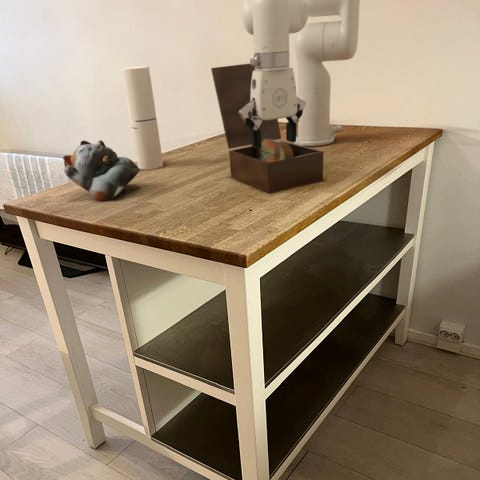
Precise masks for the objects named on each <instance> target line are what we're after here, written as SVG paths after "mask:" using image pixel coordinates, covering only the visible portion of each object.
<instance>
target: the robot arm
mask: <svg viewBox="0 0 480 480" xmlns="http://www.w3.org/2000/svg"><path fill="white" fill-rule="evenodd" d="M360 1H361V0H243V6H242V23H243V27H244V29H245V31H246V33H248V34H249V35H251V36H253V53H254V54H253V57H251V58H250V59H249V64H251V65H254V68H255V71H253V73H252V80H251V96H250V102H249V103H248V104H246V105H245V106H244V107H243V108H241V109H240V110H239V114H240V116H241V118H242V120H243V123H244V124H245V125H246V126H247V127H248V129H250V136H251V144H252V145H251V146H252V147H254V148H258V149H259V148H261V131H260V130H258V128H259V126H260V125H261V123H262V121H263V120H274V119H278V120H279V119H285V120H287V122H286V124H285V139H286V142H290V143H293V144H297V145H300V146H304V147H319V146H320V147H321V146H325V145H330V144H332V143H334V142H335V136H334V135H333V134H334V133H340V132H342V130H343V126H342V125H341V124H338V125H334V126H333V124H330V118H331V86H332V85H331V84H332V83H331V82H332V81H331V80H332V79H331V75H330V72H329V71H328V70H327V68H326V66H325V65H324V64H323V62H336V61H337V62H339V61H348V60H352V58H353V57H355V55H356V53H357V49H358V42H359V25H360V23H359V22H360V3H361V2H360ZM333 16H339V17H340V20H335V21H317V22H309V23H307V22H308V19H309V18H316V17H317V18H318V17H333ZM290 34H291V35H292V34H294V36H293V37H294V38H293V43H294V44H293V46H294V52H295V59H296V70H297V72H296V73H297V83H296V77H295V73H294V68H293V67H290ZM296 84H297V85H296ZM249 111H251V115H252V119H250V118H249V116H248V112H249Z"/></svg>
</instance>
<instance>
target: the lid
mask: <svg viewBox="0 0 480 480" xmlns="http://www.w3.org/2000/svg"><path fill="white" fill-rule="evenodd" d="M210 71H211V74H212V79H213V84H214V89H215V93H216V99H217V103H218V107H219V112H220V117H221V121H222V126H223V130H224V134H225V135H224V136H225V140H226V145H227V150H230V149H231V150H232V149H235V148H236V149H237V148H242V147H247V146H252V144H251V136H250V129H248V127H247V126H246V125H245V124H244V123H243V120H242V118H241V116H240V114H239V110H240V109H241V108H243V107H244V106H245V105H246V104H248V103H249V102H250V96H251V80H252V73H253V71H255V68H254V65H251V64H250V63H243V64H235V65H226V66H218V67H217V66H216V67H211V68H210ZM248 116H249V118H250V119H252V115H251V111H249V112H248ZM258 130H260V131H261V140H262V139H275V140H282V134H281V129H280V124H279V119H274V120H263V121H262V123H261V125H260V126H259V128H258Z"/></svg>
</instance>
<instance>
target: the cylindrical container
mask: <svg viewBox="0 0 480 480" xmlns="http://www.w3.org/2000/svg"><path fill="white" fill-rule="evenodd" d="M120 70H121V76H122V77H121V78H122V82H123V87H124V88H123V89H124V93H125V100H126V105H127V111H128V116H129V123H130V126H131V128H130V129H131V133H132V140H133V144H134V145H133V146H134V152H135V158H136V162H137V167H138V169H140V170H154V169H158V168H162V167H163V166H164V159H163V152H162V145H161V140H160V133H159V132H160V131H159V125H158V119H157V112H156V105H155V98H154V92H153V86H152V85H153V84H152V77H151V72H150V66H147V65H145V66H143V65H142V66H131V67H123V68H121V69H120Z"/></svg>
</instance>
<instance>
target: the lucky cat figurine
mask: <svg viewBox="0 0 480 480" xmlns="http://www.w3.org/2000/svg"><path fill="white" fill-rule="evenodd" d="M62 159H63V164H64V169H63V172H64V174H65V176H66V177H67V178H68V179H69V180H70V181H72V182H73V183H75V184H76V185H77V186H78V187H80V188H82V189H84V190H85V191H87V192H88V193H90V194H91V195H92V197H93V198H94V199H95V200H98V201H100V202H101V201H112V200H113V199H114V198H115V197H116V196H118V195H119V194H120V193H121V192H123V190H124V189H125V188H126V186H127V185H128V184H130V182H131V181H132V180H134V179H135V177H136V176H137V175H138V173H140V171H141V169H139V168H138V165H137V164H136V163H135V162H134V161H133V160H132V159H131V158H128V157H126V156H120V157H119V156H118V153H116V151H114V150H113V148H111V147H109V146H107V145H106V144H105V142H104V141H103V140H102V139H100V140H99V139H98V140H97V141H96V142H95V143H92V142H89V141H87V140H81V141H80V143H79V145H78V146H77V147H76V149H75V150H74V151H73V153H72V154H70V155H69V154H68V155H67V154H65V155H63V156H62Z"/></svg>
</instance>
